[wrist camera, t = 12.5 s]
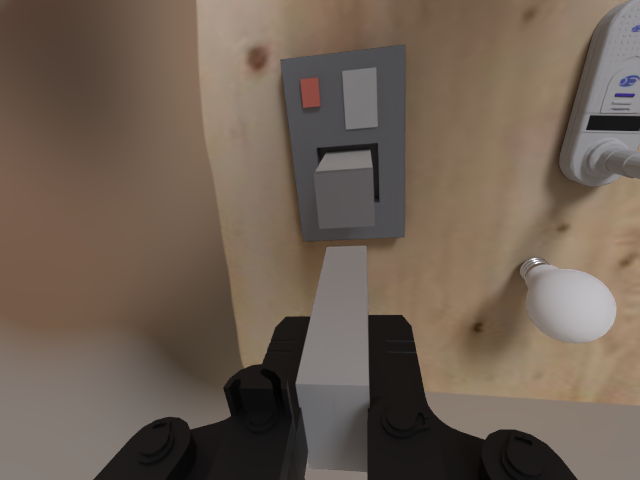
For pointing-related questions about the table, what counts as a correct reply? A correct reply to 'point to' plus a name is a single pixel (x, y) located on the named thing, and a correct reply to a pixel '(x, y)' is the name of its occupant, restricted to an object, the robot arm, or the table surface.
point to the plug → (345, 189)
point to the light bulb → (567, 302)
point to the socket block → (349, 130)
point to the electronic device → (607, 104)
